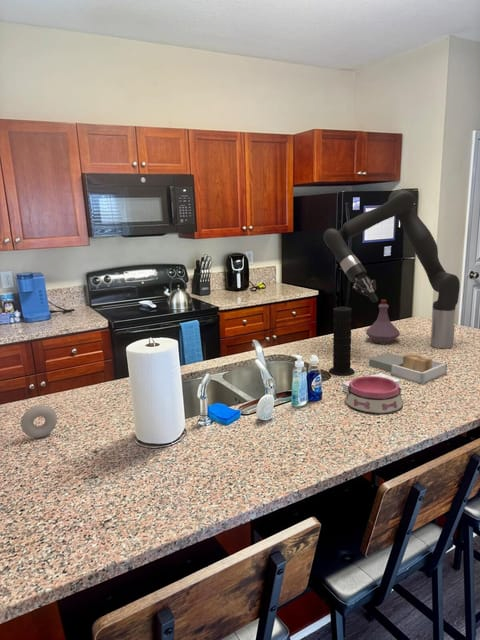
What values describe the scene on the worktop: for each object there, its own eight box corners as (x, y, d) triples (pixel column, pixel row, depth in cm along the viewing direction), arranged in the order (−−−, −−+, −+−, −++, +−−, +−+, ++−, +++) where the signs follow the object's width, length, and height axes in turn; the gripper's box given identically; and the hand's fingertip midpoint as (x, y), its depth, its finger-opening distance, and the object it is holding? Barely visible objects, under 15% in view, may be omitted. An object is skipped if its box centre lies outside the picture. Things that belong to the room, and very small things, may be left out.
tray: (415, 365, 178) (416, 355, 177) (446, 373, 168) (447, 363, 167) (391, 374, 169) (391, 364, 168) (422, 384, 159) (422, 373, 158)
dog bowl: (343, 391, 157) (343, 372, 155) (398, 392, 153) (399, 374, 152) (345, 414, 139) (346, 393, 138) (407, 416, 136) (408, 395, 134)
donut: (24, 444, 129) (18, 412, 127) (22, 439, 132) (17, 408, 129) (60, 434, 134) (55, 403, 132) (58, 429, 137) (53, 399, 134)
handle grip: (331, 376, 170) (357, 375, 170) (331, 309, 164) (358, 308, 164) (326, 367, 180) (351, 366, 180) (327, 304, 174) (352, 303, 173)
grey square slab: (387, 359, 187) (387, 352, 186) (412, 366, 177) (413, 359, 177) (369, 365, 180) (369, 358, 179) (394, 373, 170) (394, 366, 170)
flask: (359, 337, 220) (360, 298, 215) (391, 335, 222) (392, 296, 217) (372, 347, 204) (374, 304, 199) (406, 344, 206) (408, 302, 201)
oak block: (411, 353, 173) (432, 358, 165) (410, 367, 174) (431, 374, 167) (403, 356, 170) (424, 361, 163) (402, 370, 171) (423, 377, 164)
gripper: (347, 264, 180) (371, 299, 174) (368, 260, 187) (391, 293, 181) (337, 276, 185) (359, 309, 179) (358, 271, 193) (380, 303, 187)
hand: (375, 301), depth 180 cm, fingers closed
